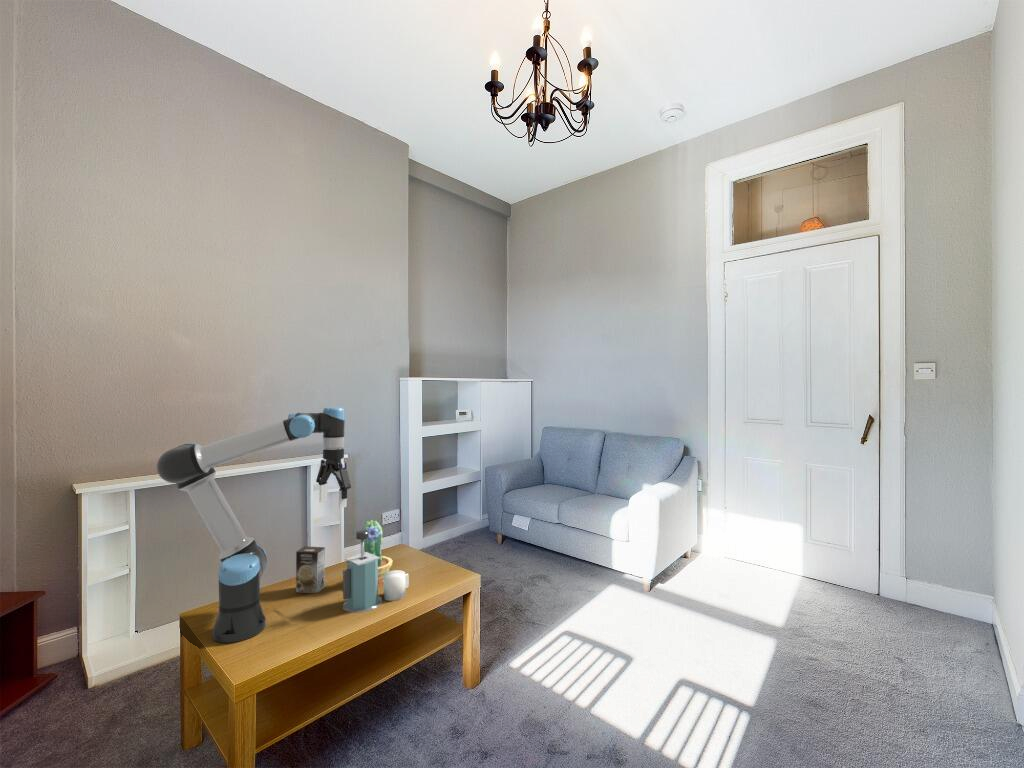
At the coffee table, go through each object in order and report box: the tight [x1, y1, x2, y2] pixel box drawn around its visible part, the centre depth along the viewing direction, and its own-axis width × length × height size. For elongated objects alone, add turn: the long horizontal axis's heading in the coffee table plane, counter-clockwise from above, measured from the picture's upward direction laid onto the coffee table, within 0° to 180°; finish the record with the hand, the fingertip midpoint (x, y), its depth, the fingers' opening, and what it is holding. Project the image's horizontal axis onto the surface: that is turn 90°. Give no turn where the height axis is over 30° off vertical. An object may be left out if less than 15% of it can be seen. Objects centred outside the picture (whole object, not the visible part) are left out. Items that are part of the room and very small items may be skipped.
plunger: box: [355, 529, 369, 560], centre depth 171 cm, size 8×8×16 cm
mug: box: [383, 569, 410, 602], centre depth 177 cm, size 10×8×9 cm
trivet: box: [342, 595, 384, 613], centre depth 171 cm, size 14×14×1 cm
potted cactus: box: [361, 519, 393, 584], centre depth 191 cm, size 15×15×25 cm
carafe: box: [342, 551, 380, 610], centre depth 170 cm, size 12×10×16 cm
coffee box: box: [295, 545, 326, 594], centre depth 185 cm, size 9×6×16 cm
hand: (332, 504), depth 176 cm, fingers open, 13 cm apart
